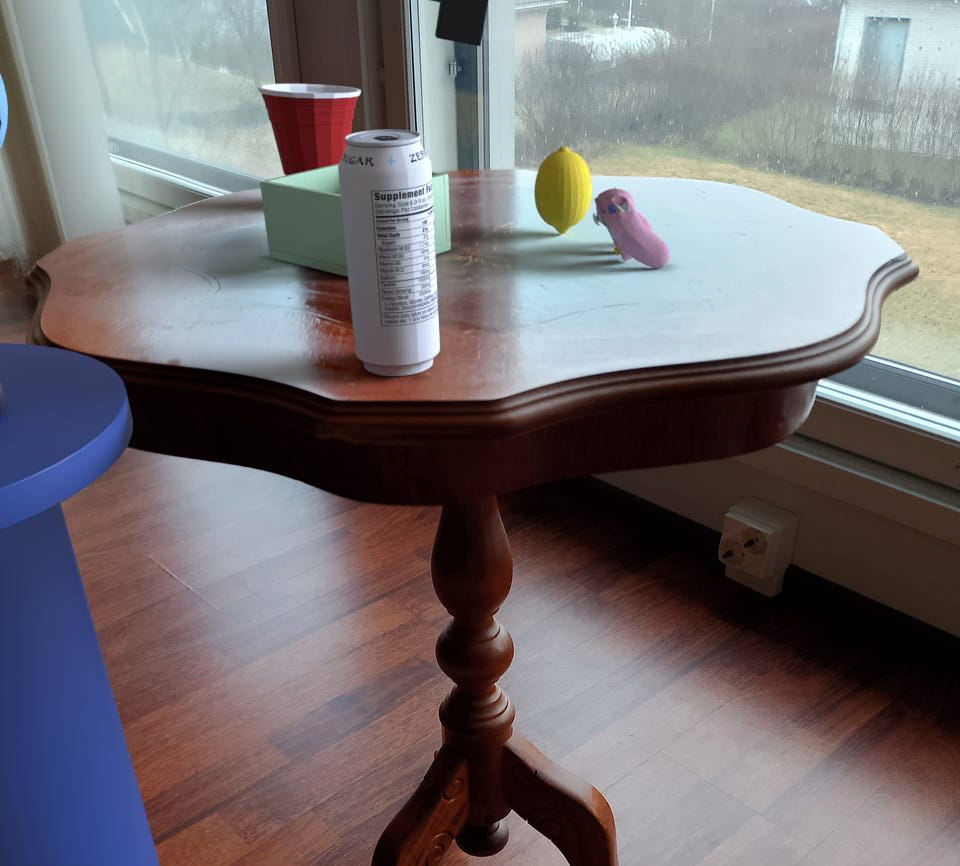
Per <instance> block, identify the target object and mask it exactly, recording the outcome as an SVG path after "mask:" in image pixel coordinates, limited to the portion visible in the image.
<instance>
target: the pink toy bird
mask: <svg viewBox="0 0 960 866" xmlns="http://www.w3.org/2000/svg"><path fill="white" fill-rule="evenodd" d="M593 200H594V203H595V209H596V213H595V212H594V213H592V220H593V222H594V224H596V225H597V226H598V227H599V226H600V224H601V225H603V226H604V227H605V228H606V230H607V231H608V233H609V235H610V238H611V240H612V242H613V244H614V246H615V247H614V248H613V252H614V254H615V255H616V256H617V257H618V256H620V257H621V259H622V261H623V262H624V263H626V262H627V261H629V260H631V259H634V260H636V261H637V262H639V263H641V264H643V265H645V266H646V267H650V268H653V269H662V268H664V267H666V266H667V265H668V264H669V262H670V259H671V255H670V254H671V252H670V249H669V247H668V246H667V244H666V242H665V241H664V240H663V239H661V238H660V237H659V236H658V235H657V234H656V233H654V232H653V227H652V226H651V224H650V222H649V220H647V219H646V217H645V216H643V215H642V214H641V213H640V212H638V211H637V209H636V207H635V200H634V197H633V196H632V195H631V193H630V192H628V191H627V190H624V189H621V188H617V187H614V188H609V189H606V190H604V191H602V192H600V193H599V194H598V195H597V196H596V197H595V198H594V199H593Z"/></svg>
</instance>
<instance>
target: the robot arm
mask: <svg viewBox="0 0 960 866" xmlns="http://www.w3.org/2000/svg"><path fill="white" fill-rule="evenodd" d="M429 1H431V2H436V3H439V6H438V12H437V18H436V19H437V20H436V26H435V32H434V33H435V34H434V36H435V38H436V39H440V40H444V41H451V42H455V43H461V44H466V45H472V46H476V47H481V45H482V39H483V35H484V28H485V23H486V18H487V17H486V16H487V11H488V5H489V0H429ZM8 107H9V106H8V97H7V92H6V87H5V83H4V81H3V77H2V75H1V73H0V150H1V149H2V146H3V144H4V141H5V138H6V133H7V128H8V118H9V109H8ZM5 406H6V401H5V397H4V393H3V390H2V386H1V383H0V416H1V415H2V413H3V412H4V409H5Z"/></svg>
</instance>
